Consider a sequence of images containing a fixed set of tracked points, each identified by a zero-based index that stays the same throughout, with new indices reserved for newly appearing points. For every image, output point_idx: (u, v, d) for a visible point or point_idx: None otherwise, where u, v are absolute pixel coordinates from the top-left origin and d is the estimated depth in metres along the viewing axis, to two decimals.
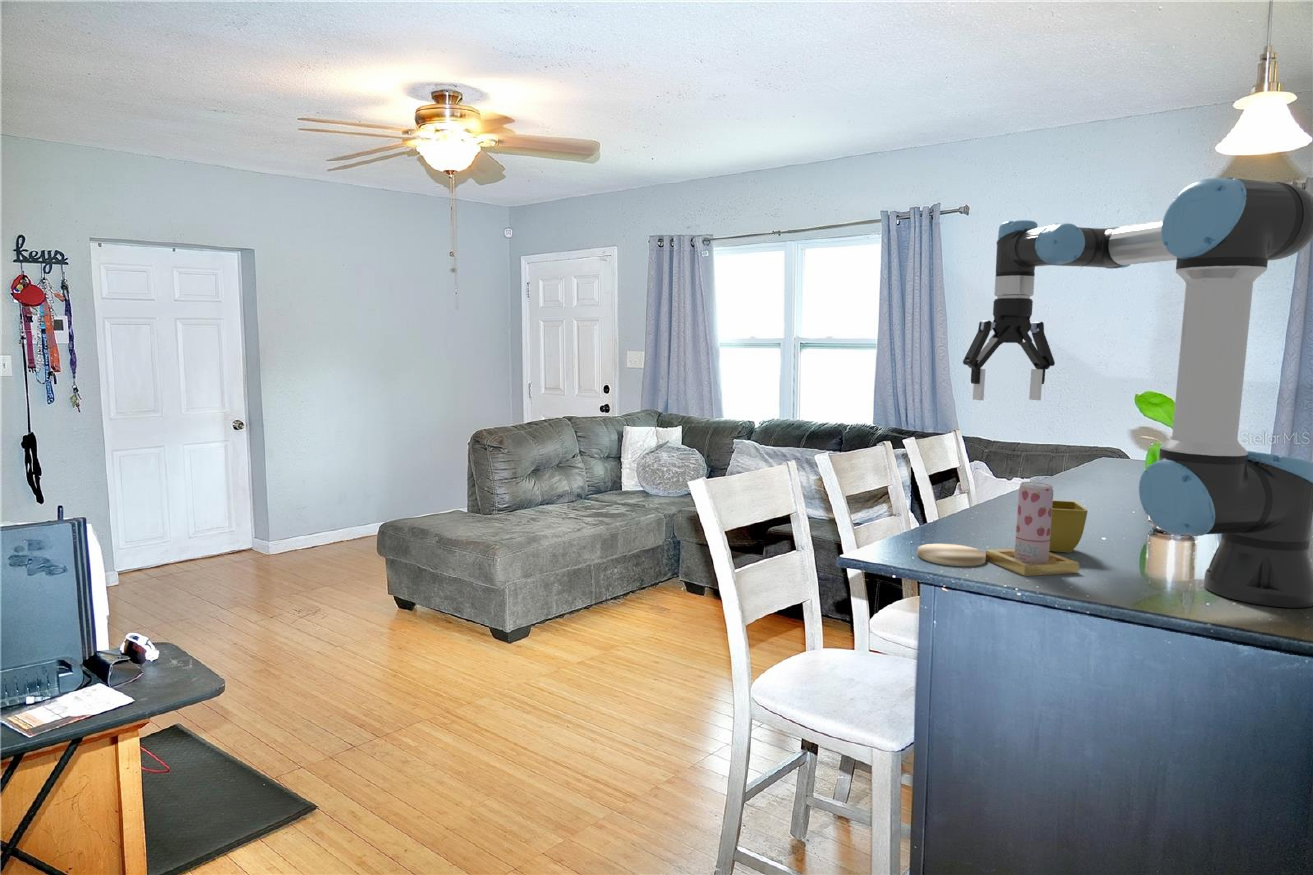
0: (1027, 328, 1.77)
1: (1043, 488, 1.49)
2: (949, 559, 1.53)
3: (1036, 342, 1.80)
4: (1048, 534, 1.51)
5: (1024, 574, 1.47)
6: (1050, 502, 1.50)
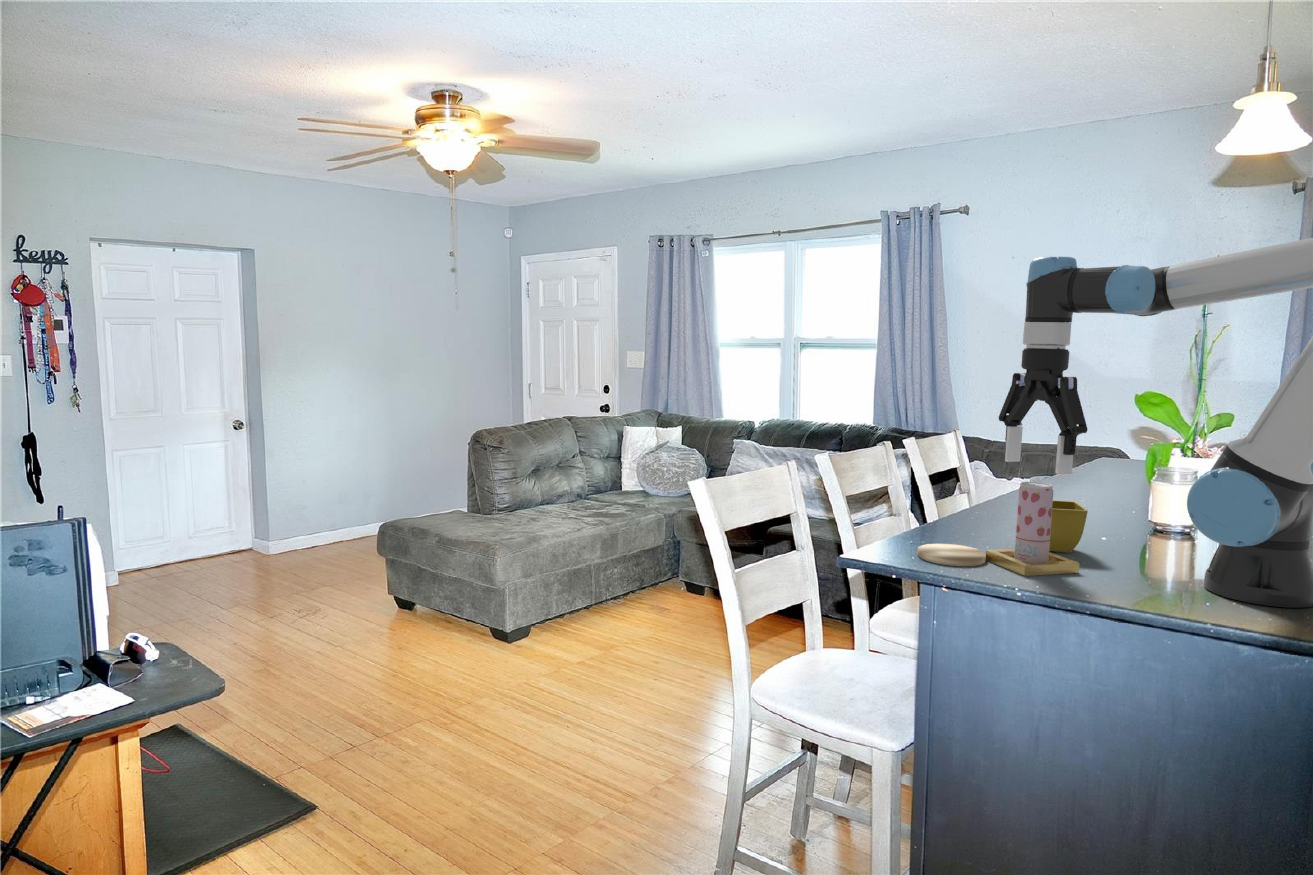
0: (1049, 384, 1.47)
1: (1043, 488, 1.49)
2: (949, 559, 1.53)
3: None
4: (1048, 534, 1.51)
5: (1024, 574, 1.47)
6: (1050, 502, 1.50)
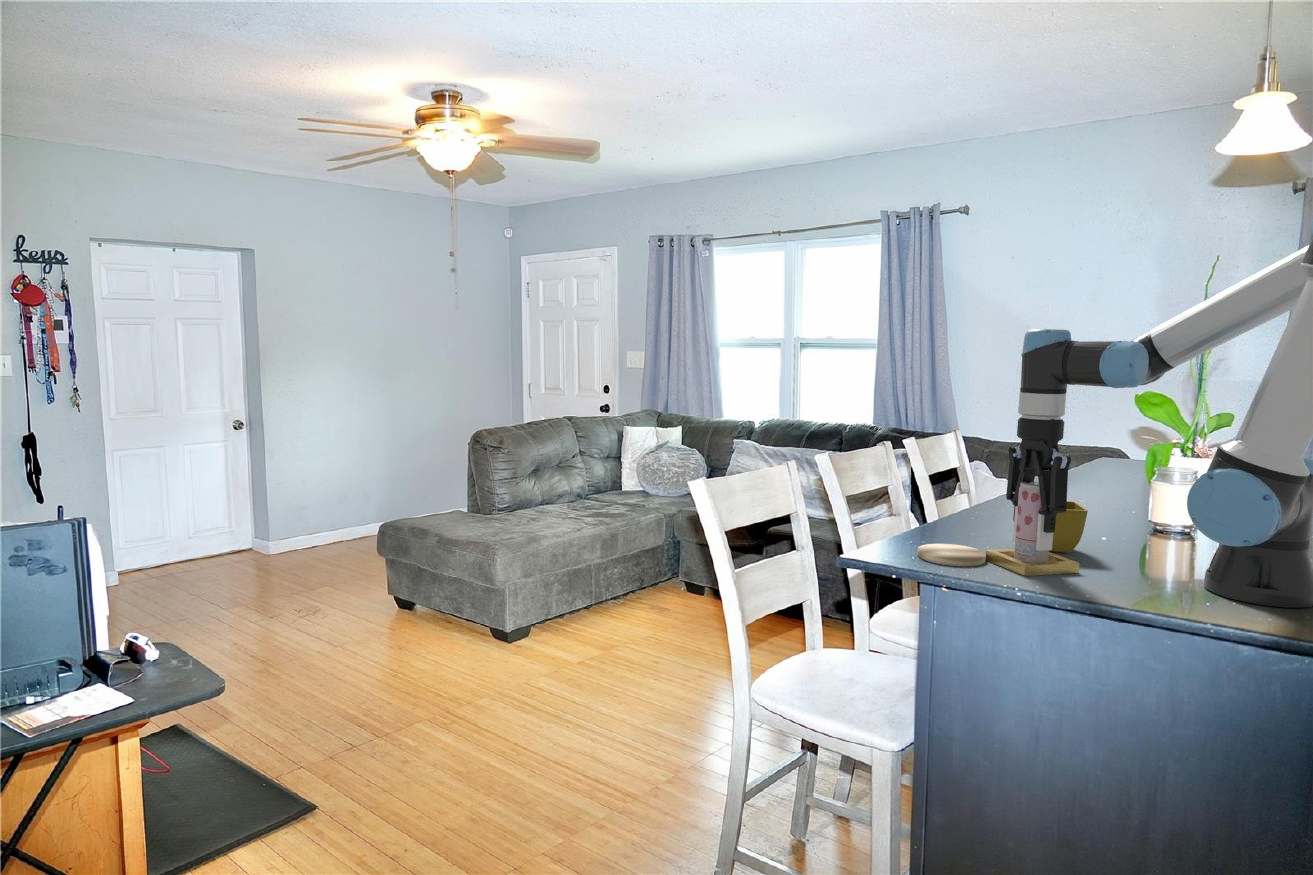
0: (1044, 454, 1.48)
1: None
2: (949, 559, 1.53)
3: None
4: None
5: (1024, 574, 1.47)
6: None
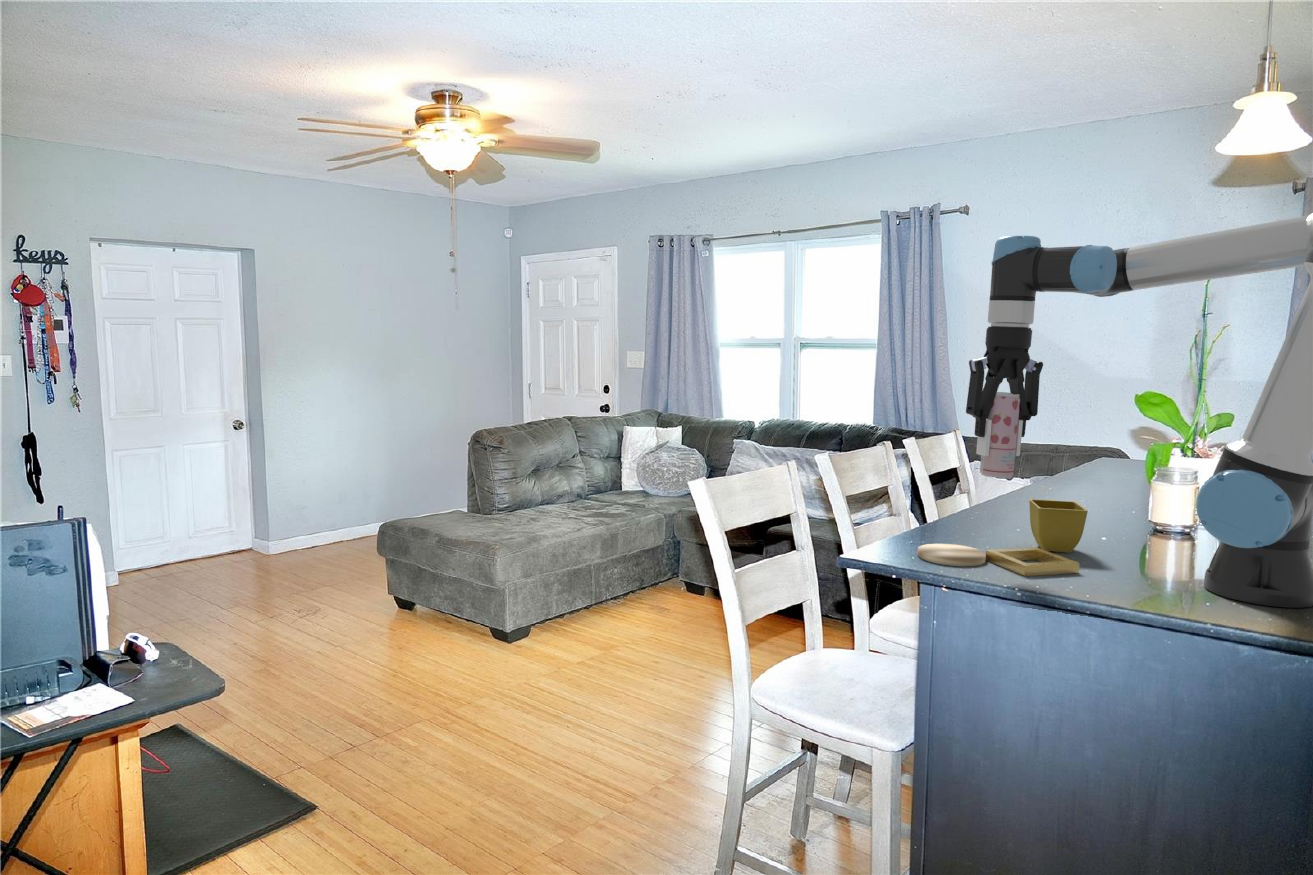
0: (1024, 361, 1.51)
1: None
2: (949, 559, 1.53)
3: (1026, 384, 1.54)
4: None
5: (1024, 574, 1.47)
6: None
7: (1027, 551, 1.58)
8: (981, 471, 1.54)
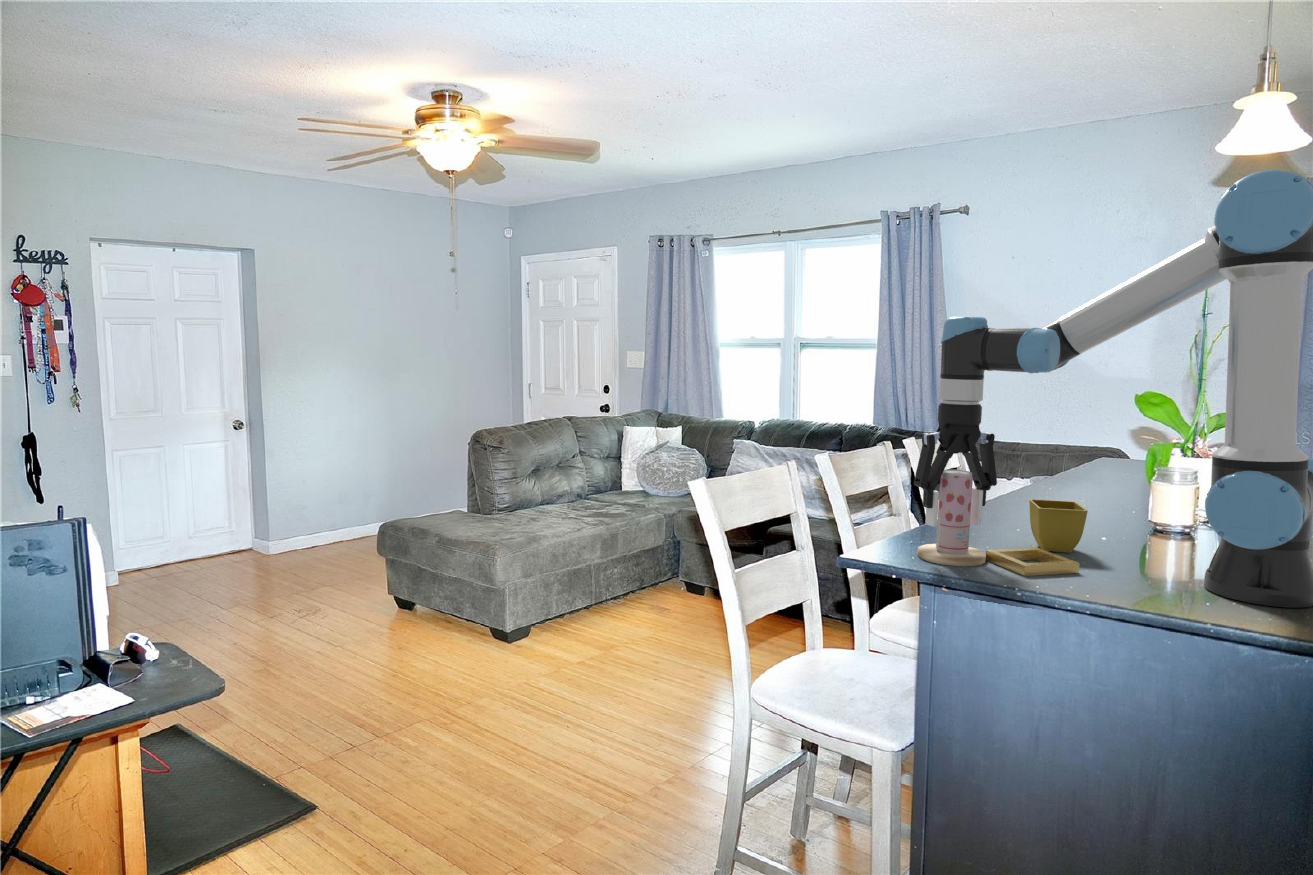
0: (975, 436, 1.56)
1: None
2: (949, 559, 1.53)
3: (982, 455, 1.58)
4: None
5: (1024, 574, 1.47)
6: None
7: (1027, 551, 1.58)
8: (937, 547, 1.58)
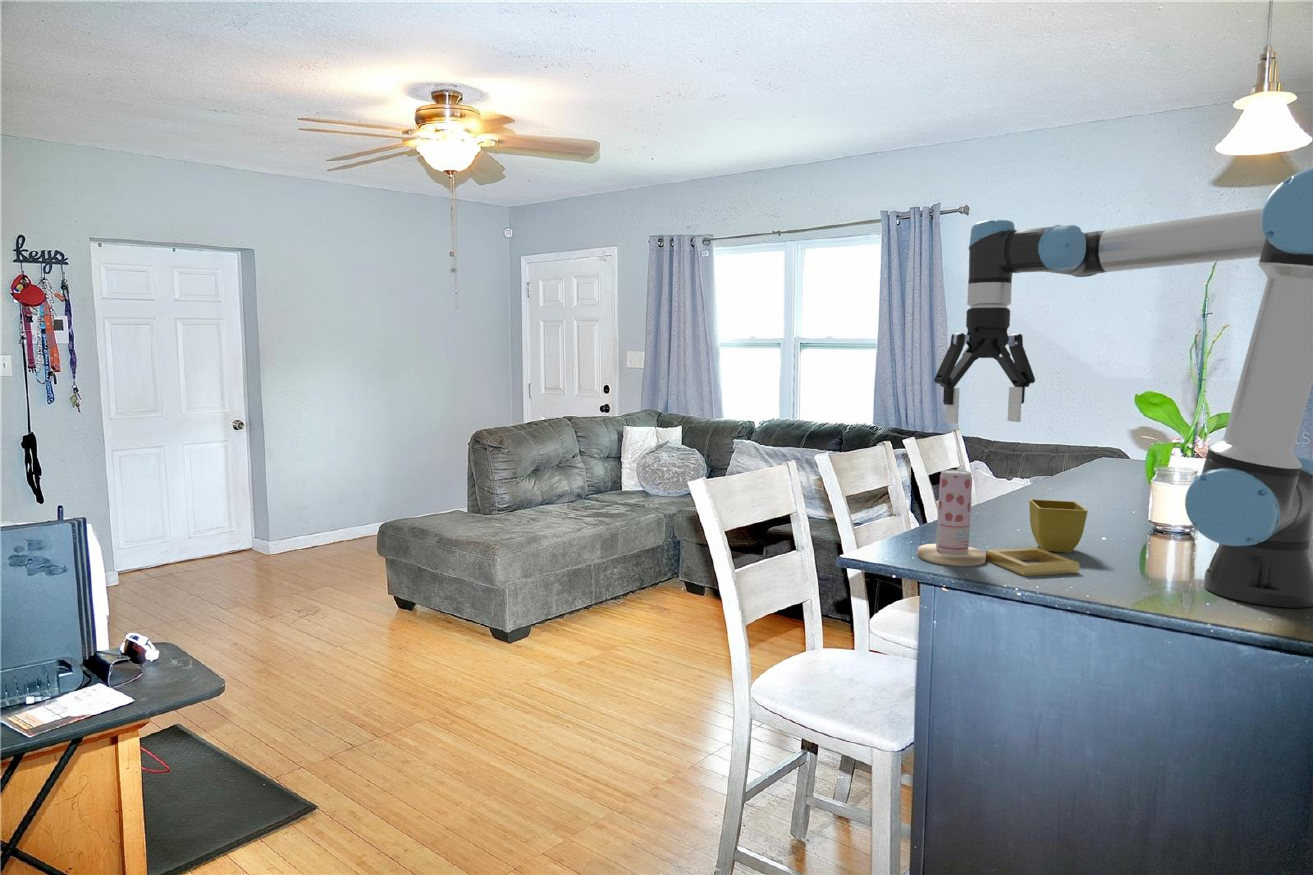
0: (1004, 341, 1.57)
1: (970, 473, 1.57)
2: (949, 559, 1.53)
3: (1014, 357, 1.60)
4: None
5: (1024, 574, 1.47)
6: None
7: (1027, 551, 1.58)
8: (937, 547, 1.58)
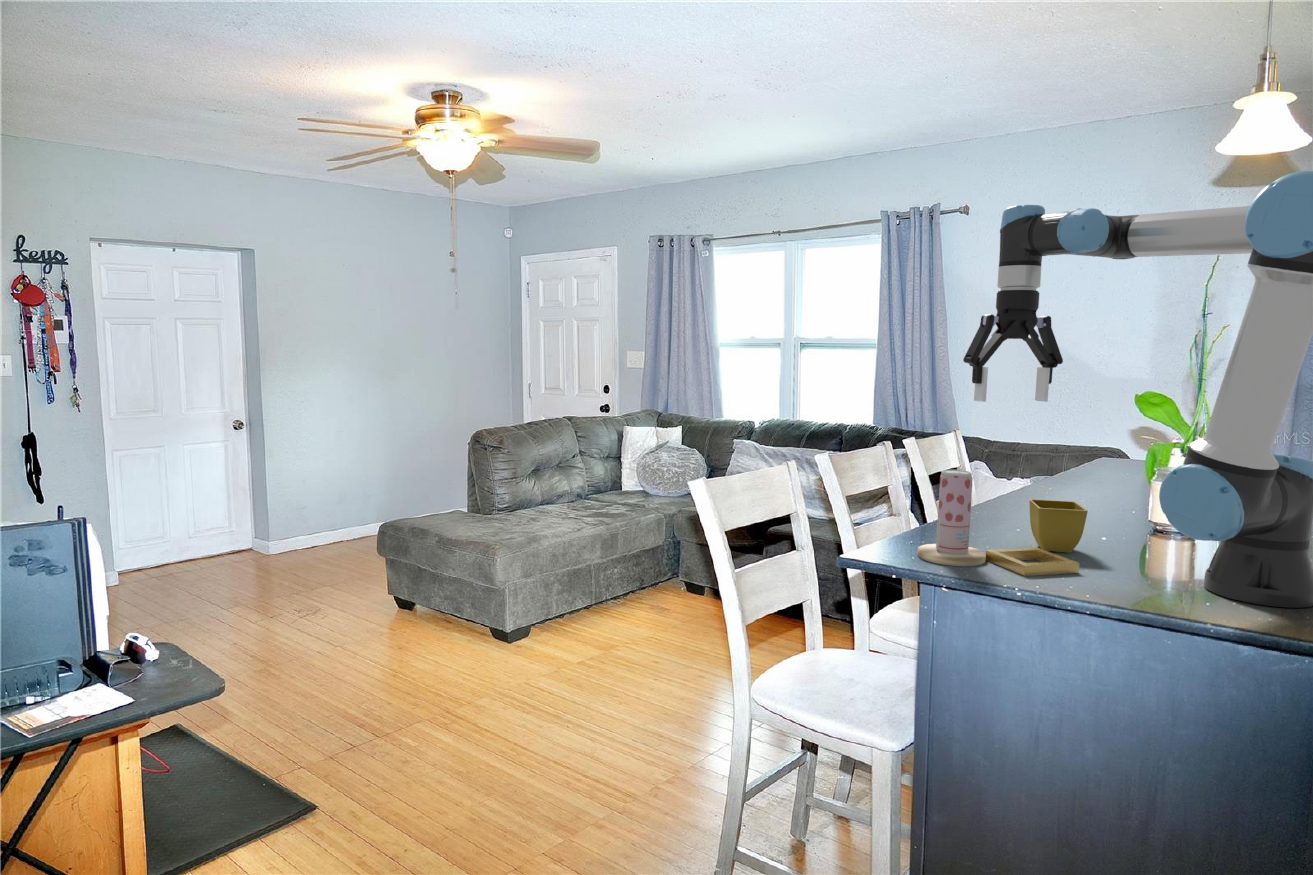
0: (1033, 323, 1.63)
1: None
2: (949, 559, 1.53)
3: (1043, 338, 1.65)
4: None
5: (1024, 574, 1.47)
6: None
7: (1027, 551, 1.58)
8: (937, 547, 1.58)
